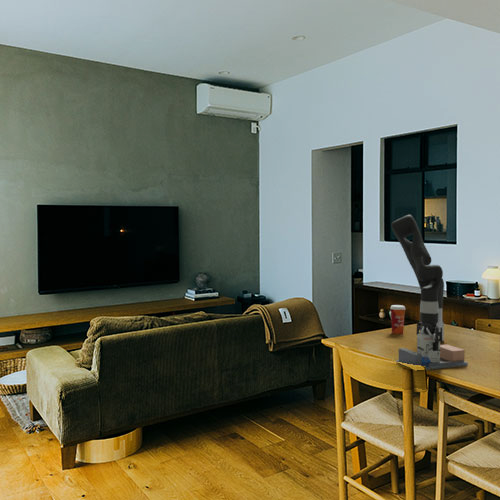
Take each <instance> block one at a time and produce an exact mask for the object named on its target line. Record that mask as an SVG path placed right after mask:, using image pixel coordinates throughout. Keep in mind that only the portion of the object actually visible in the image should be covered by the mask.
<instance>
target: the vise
mask: <svg viewBox="0 0 500 500" xmlns="http://www.w3.org/2000/svg"><path fill="white" fill-rule="evenodd" d="M395 361H397V362H402V363H407V364H413V365H421V366H425V368H426V370H425V371H431V370H430V369H432V370H438V369H448V368H457V367H464V366H468V365H469V362H468V361H465V359H464V360H459V361H448V360H445V359H442V358H440V362H435V363H422V354H419V353H417V351H414V350H411V349H409V348H406V347H403V348H402V347H401V348H398V359H396V360H395Z"/></svg>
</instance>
